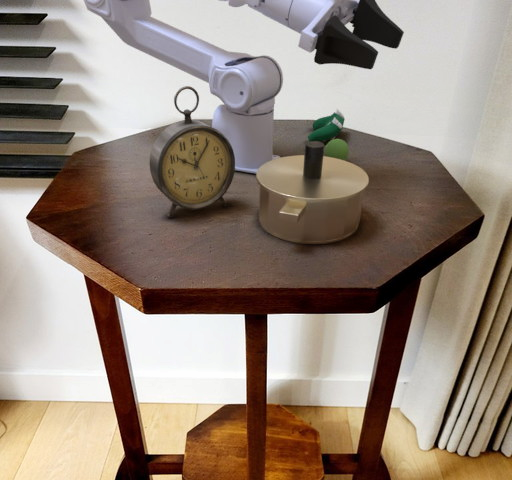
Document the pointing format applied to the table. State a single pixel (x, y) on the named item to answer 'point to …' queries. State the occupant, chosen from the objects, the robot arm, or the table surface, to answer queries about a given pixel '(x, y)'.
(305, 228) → the pot
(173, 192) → the alarm clock
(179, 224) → the table surface
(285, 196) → the lid
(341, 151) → the ball
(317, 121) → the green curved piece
